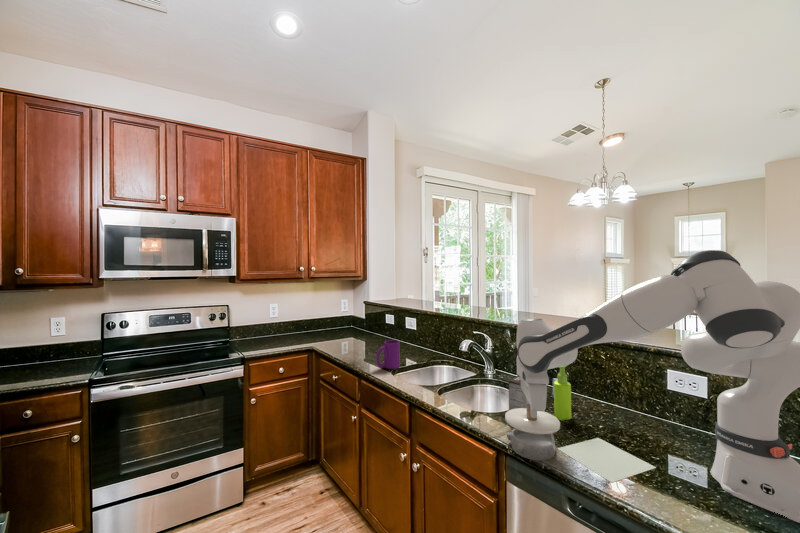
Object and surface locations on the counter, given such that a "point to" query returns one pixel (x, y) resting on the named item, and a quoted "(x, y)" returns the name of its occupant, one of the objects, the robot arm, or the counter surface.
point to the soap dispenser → (562, 396)
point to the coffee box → (516, 394)
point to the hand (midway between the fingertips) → (532, 413)
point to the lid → (532, 421)
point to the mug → (390, 354)
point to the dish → (532, 444)
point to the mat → (606, 459)
